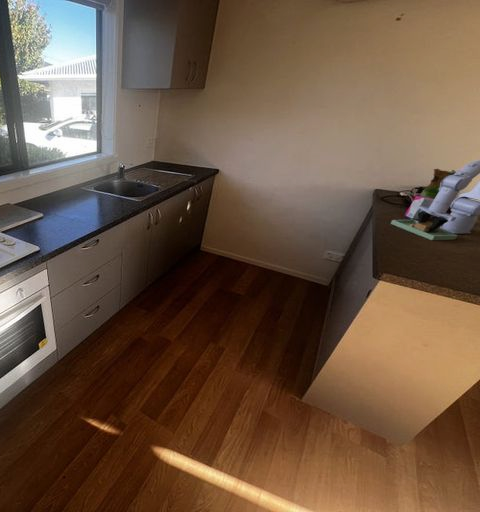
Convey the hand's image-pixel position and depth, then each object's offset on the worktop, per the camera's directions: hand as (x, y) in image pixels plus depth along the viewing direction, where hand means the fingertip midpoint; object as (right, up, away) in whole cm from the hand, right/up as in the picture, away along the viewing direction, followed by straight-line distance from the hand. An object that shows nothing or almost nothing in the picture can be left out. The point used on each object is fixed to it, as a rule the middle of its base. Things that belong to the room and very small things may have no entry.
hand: (425, 229), depth 139 cm
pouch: (+24, +9, +21) cm, 33 cm away
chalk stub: (-1, +3, +5) cm, 5 cm away
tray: (0, -1, +2) cm, 2 cm away
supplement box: (+13, +7, +17) cm, 23 cm away
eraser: (0, -1, 0) cm, 1 cm away
